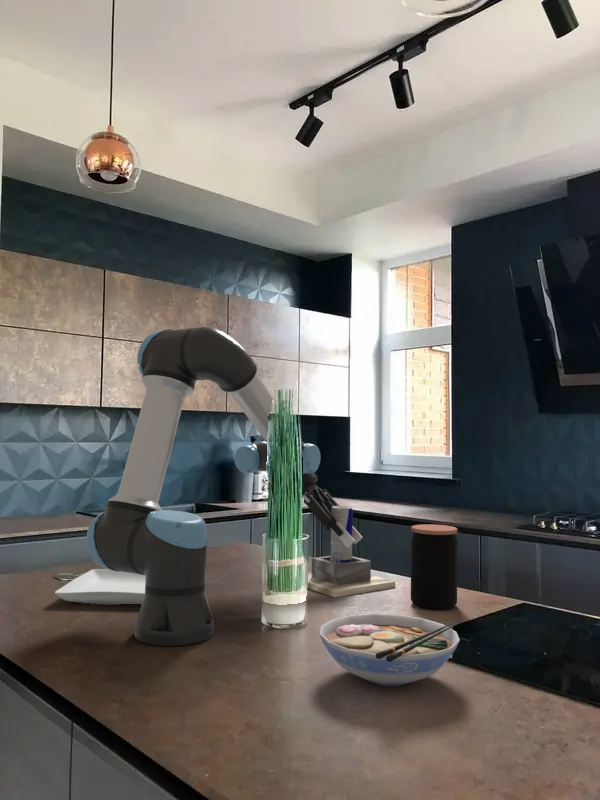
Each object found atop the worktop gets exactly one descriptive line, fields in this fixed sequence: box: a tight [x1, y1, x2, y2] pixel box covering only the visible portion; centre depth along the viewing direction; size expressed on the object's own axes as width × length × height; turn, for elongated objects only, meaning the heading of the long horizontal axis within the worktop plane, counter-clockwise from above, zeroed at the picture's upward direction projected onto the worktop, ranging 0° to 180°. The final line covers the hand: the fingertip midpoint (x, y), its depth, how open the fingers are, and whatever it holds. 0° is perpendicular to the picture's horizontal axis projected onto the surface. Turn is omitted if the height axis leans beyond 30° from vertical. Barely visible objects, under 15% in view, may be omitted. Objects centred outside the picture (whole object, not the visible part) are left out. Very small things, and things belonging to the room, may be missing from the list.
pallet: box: [307, 555, 396, 598], centre depth 175 cm, size 20×20×6 cm
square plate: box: [54, 568, 145, 605], centre depth 162 cm, size 27×27×4 cm
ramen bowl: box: [318, 613, 461, 687], centre depth 109 cm, size 25×23×8 cm
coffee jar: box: [410, 523, 458, 612], centre depth 156 cm, size 11×11×18 cm
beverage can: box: [330, 505, 354, 563], centre depth 176 cm, size 6×6×15 cm
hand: (354, 542), depth 174 cm, fingers closed on beverage can, 5 cm apart
